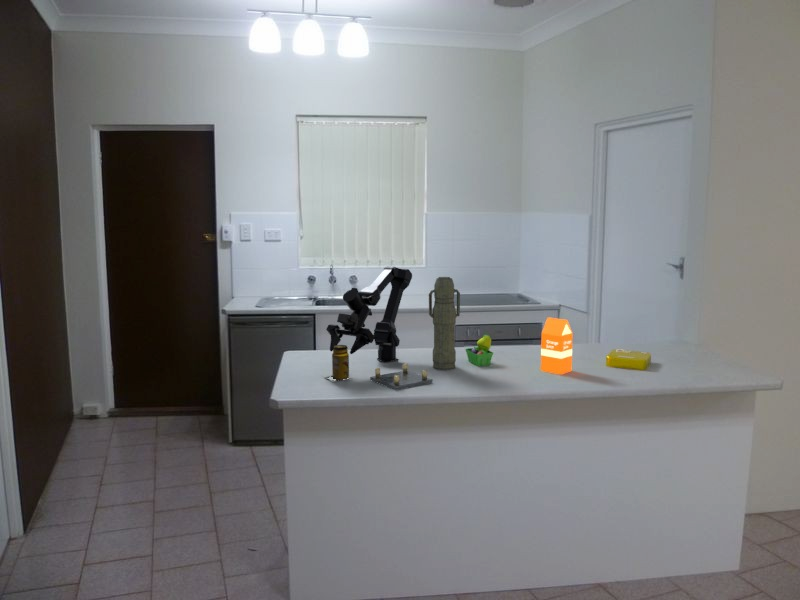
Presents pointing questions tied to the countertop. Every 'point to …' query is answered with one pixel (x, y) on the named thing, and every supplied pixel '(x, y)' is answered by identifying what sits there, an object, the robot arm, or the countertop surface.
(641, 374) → the countertop surface
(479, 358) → the fruit basket
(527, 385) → the countertop surface
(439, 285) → the thermos
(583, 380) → the countertop surface
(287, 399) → the countertop surface
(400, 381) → the chassis plate
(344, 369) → the condiment
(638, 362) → the element tile
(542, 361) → the orange juice
